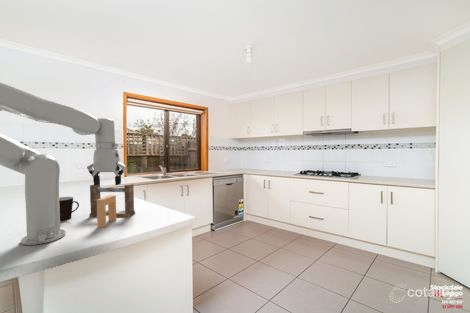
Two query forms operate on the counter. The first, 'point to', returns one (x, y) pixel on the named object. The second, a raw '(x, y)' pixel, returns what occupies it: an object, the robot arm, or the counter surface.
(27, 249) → the counter surface
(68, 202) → the coffee mug
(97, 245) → the counter surface
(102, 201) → the tan c-shaped bracket
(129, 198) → the rack
